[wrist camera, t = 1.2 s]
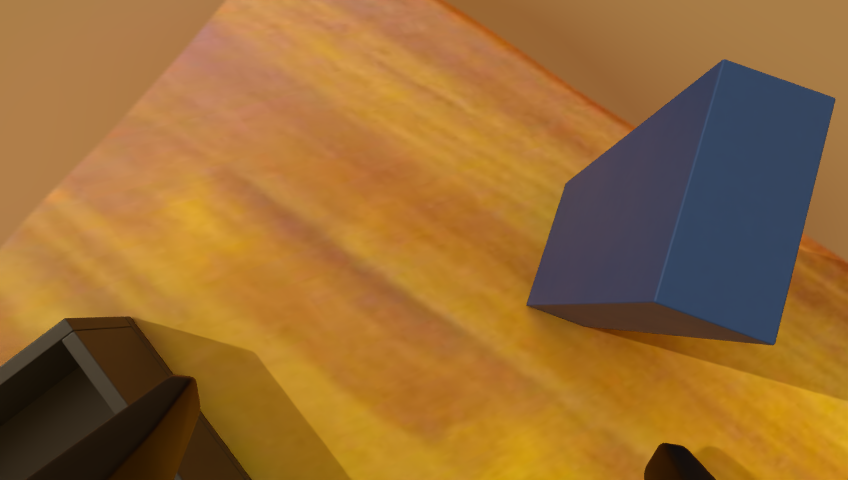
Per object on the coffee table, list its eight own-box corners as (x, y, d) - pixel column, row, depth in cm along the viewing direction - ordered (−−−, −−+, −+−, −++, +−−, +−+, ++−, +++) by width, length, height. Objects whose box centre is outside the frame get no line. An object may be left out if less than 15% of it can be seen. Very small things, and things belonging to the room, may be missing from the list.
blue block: (622, 202, 25) (836, 97, 12) (584, 326, 24) (775, 346, 11) (565, 182, 25) (723, 58, 12) (525, 305, 24) (653, 302, 12)
